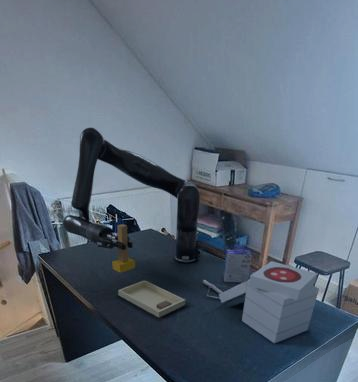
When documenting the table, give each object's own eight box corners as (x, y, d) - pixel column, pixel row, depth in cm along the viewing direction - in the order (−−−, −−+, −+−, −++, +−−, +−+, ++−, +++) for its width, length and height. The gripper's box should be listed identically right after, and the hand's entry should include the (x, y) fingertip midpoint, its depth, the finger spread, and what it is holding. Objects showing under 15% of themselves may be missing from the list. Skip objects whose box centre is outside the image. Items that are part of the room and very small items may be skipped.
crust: (156, 307, 115) (156, 304, 115) (166, 303, 118) (166, 300, 118) (162, 310, 114) (162, 307, 113) (172, 306, 117) (172, 303, 116)
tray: (118, 296, 123) (118, 290, 121) (144, 286, 131) (144, 280, 129) (158, 319, 110) (158, 312, 109) (185, 306, 118) (185, 299, 117)
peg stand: (112, 269, 124) (109, 225, 115) (127, 264, 128) (126, 222, 119) (120, 272, 121) (117, 228, 113) (135, 267, 126) (134, 225, 117)
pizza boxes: (252, 294, 128) (259, 248, 119) (316, 331, 107) (332, 279, 97) (212, 305, 119) (216, 257, 110) (273, 349, 98) (286, 294, 88)
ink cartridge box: (246, 277, 141) (251, 244, 133) (248, 283, 136) (253, 248, 128) (223, 276, 141) (226, 243, 133) (224, 282, 136) (228, 248, 128)
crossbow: (242, 298, 127) (243, 293, 126) (215, 306, 121) (216, 301, 120) (216, 279, 137) (216, 275, 136) (190, 286, 132) (191, 281, 130)
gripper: (82, 227, 121) (111, 239, 112) (113, 221, 130) (143, 231, 120) (84, 247, 125) (113, 261, 116) (115, 240, 134) (143, 251, 124)
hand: (128, 246), depth 118 cm, fingers closed on peg stand, 2 cm apart
